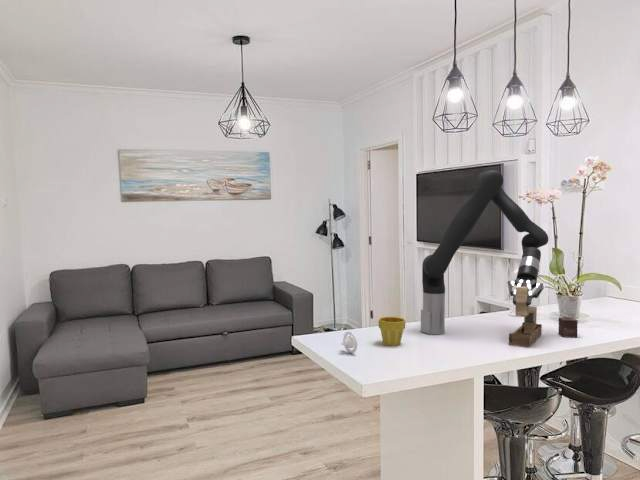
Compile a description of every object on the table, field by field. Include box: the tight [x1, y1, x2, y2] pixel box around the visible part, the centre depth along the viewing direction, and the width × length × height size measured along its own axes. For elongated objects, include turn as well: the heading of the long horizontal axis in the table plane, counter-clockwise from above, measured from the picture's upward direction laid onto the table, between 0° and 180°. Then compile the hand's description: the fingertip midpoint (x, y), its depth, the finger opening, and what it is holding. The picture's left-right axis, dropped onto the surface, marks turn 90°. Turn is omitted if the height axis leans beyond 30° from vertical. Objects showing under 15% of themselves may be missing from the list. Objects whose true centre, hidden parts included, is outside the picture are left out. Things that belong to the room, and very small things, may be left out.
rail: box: [508, 305, 543, 349], centre depth 207 cm, size 24×8×12 cm, turn 147°
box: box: [557, 316, 578, 339], centre depth 214 cm, size 6×6×7 cm
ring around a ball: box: [340, 330, 358, 354], centre depth 187 cm, size 8×6×8 cm
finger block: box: [516, 286, 530, 317], centre depth 200 cm, size 4×4×11 cm
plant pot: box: [378, 316, 406, 347], centre depth 201 cm, size 10×10×10 cm
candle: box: [508, 265, 524, 318], centre depth 255 cm, size 7×7×25 cm
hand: (521, 304), depth 198 cm, fingers closed on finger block, 4 cm apart
